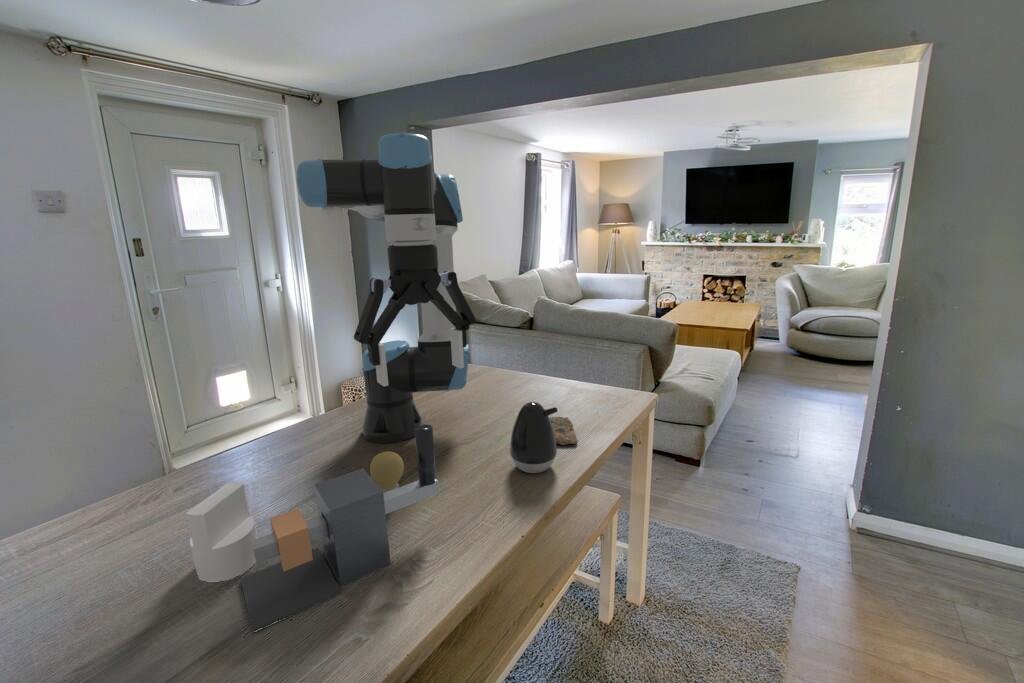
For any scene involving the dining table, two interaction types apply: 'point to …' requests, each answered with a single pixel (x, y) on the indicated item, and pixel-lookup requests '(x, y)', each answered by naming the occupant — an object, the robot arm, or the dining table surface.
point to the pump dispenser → (533, 439)
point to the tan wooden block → (292, 539)
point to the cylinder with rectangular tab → (222, 534)
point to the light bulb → (387, 470)
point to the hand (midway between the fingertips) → (422, 374)
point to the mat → (287, 590)
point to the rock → (563, 430)
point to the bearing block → (353, 525)
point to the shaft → (392, 499)
